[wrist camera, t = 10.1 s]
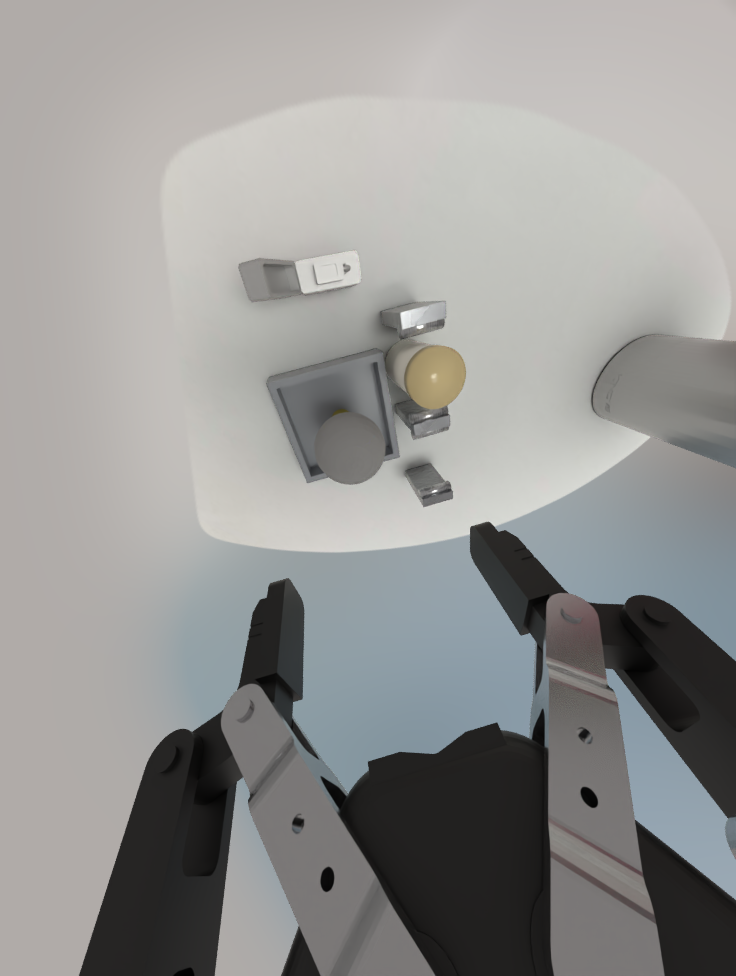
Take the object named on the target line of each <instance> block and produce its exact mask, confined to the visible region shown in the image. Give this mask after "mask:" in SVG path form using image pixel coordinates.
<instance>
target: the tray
mask: <svg viewBox="0 0 736 976" xmlns="http://www.w3.org/2000/svg"><path fill="white" fill-rule="evenodd" d="M266 384H267V387H268V389H269V392H270V394H271V396H272V399H273V401H274V404H275V406H276V409H277V411H278V413H279V416H280V418H281V421H282V423H283V425H284V428H285V430H286V433H287V435H288V438H289V440H290V442H291V445H292V447H293V450H294V452H295V455H296V457H297V459H298V462H299V464H300V467H301V469H302V471H303V474H304V476H305V479H306V481H307V483H310V482H313V481H317V480H320V479H324V478H327V477H328V476H327V475H326V474H325V473H324V472H323V471H322V470H321V468H320V467H319V465H318V463H317V461H316V457H315V450H314V443H315V438H316V435H317V433H318V431H319V430H320V428H321V426H322V425H323V424H324V423H325V422H326V421H327V420H328V419H329V418H331V417H332V415H333V413H334V412H335V411H337V410H339V409H345V410H347V411H349V412H354V413H359V414H362V415H364V416H366V417H368V418H369V419H371V420H372V421H373V422H374V423H375V424H376V425H377V426H378V427H379V429H380V431H381V433H382V435H383V437H384V440H385V447H386V448H385V456H384V460H383V462H384V461H388V460H391V459H395V458H398V457H400V455H399V449H398V443H397V436H396V430H395V424H394V418H393V412H392V406H391V400H390V393H389V387H388V381H387V375H386V369H385V363H384V356H383V352H382V351H380V350H378V349H377V348H376V349H372V350H369V351H365V352H361V353H357V354H354V355H350V356H346V357H342V358H339V359H335V360H331V361H327V362H324V363H320V364H316V365H313V366H309V367H305V368H301V369H298V370H294V371H290V372H286V373H283V374H279V375H275V376H271V377H269V379H268V381H267V383H266Z"/></svg>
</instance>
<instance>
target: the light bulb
mask: <svg viewBox="0 0 736 976" xmlns="http://www.w3.org/2000/svg"><path fill="white" fill-rule="evenodd" d="M385 448H386V447H385V440H384V437H383V435H382V433H381V431H380V429H379V427H378V426H377V425H376V424H375V423H374V422H373V421H372V420H371V419H369V418H368V417H366V416H364V415H362V414H359V413H354V412H349V411H347V410H345V409H339V410H337V411H335V412H334V413H333V415H332V417H331V418H329V419H328V420H327V421H326V422H325V423H324V424H323V425H322V426H321V428H320V430H319V431H318V433H317V435H316V438H315V443H314V450H315V457H316V461H317V463H318V465H319V467H320V468H321V470H322V471H323V472H324V473H325V474H326V475H327V476H328V477H329V478H331V479H332V480H334V481H337V482H339V483H343V484H358V483H362V482H364V481H366V480H368V479H370V478H371V477H372V476H374V475H375V474H376V472H377V471H378V470H379V468H380V467H381V465H382V463H383V460H384V456H385Z"/></svg>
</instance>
